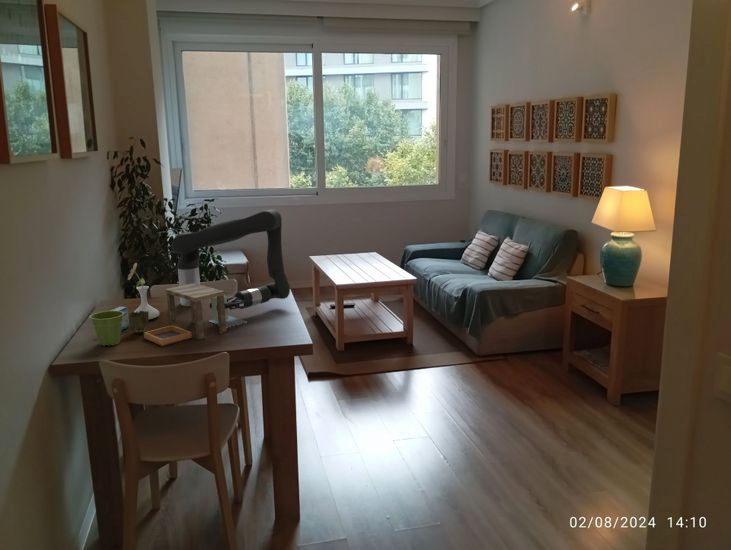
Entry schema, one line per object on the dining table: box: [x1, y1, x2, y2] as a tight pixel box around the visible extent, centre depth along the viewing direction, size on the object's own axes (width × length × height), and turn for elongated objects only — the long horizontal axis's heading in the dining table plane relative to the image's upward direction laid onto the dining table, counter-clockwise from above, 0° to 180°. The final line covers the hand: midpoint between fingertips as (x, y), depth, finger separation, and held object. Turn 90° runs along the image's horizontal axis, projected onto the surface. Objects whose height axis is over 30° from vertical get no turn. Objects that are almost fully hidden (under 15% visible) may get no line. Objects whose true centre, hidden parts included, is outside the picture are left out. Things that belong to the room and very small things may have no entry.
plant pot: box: [89, 310, 124, 346], centre depth 224 cm, size 12×12×11 cm
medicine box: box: [109, 306, 130, 331], centre depth 241 cm, size 8×4×9 cm, turn 168°
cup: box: [128, 311, 149, 334], centre depth 237 cm, size 8×7×8 cm
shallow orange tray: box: [143, 325, 193, 347], centre depth 229 cm, size 14×12×2 cm
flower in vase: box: [126, 262, 160, 321], centre depth 253 cm, size 13×11×25 cm
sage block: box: [210, 294, 229, 322], centre depth 245 cm, size 4×4×10 cm
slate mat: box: [207, 315, 248, 329], centre depth 248 cm, size 14×10×1 cm
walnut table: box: [164, 283, 227, 340], centre depth 237 cm, size 22×13×16 cm, turn 47°
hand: (213, 307), depth 242 cm, fingers closed on sage block, 4 cm apart
